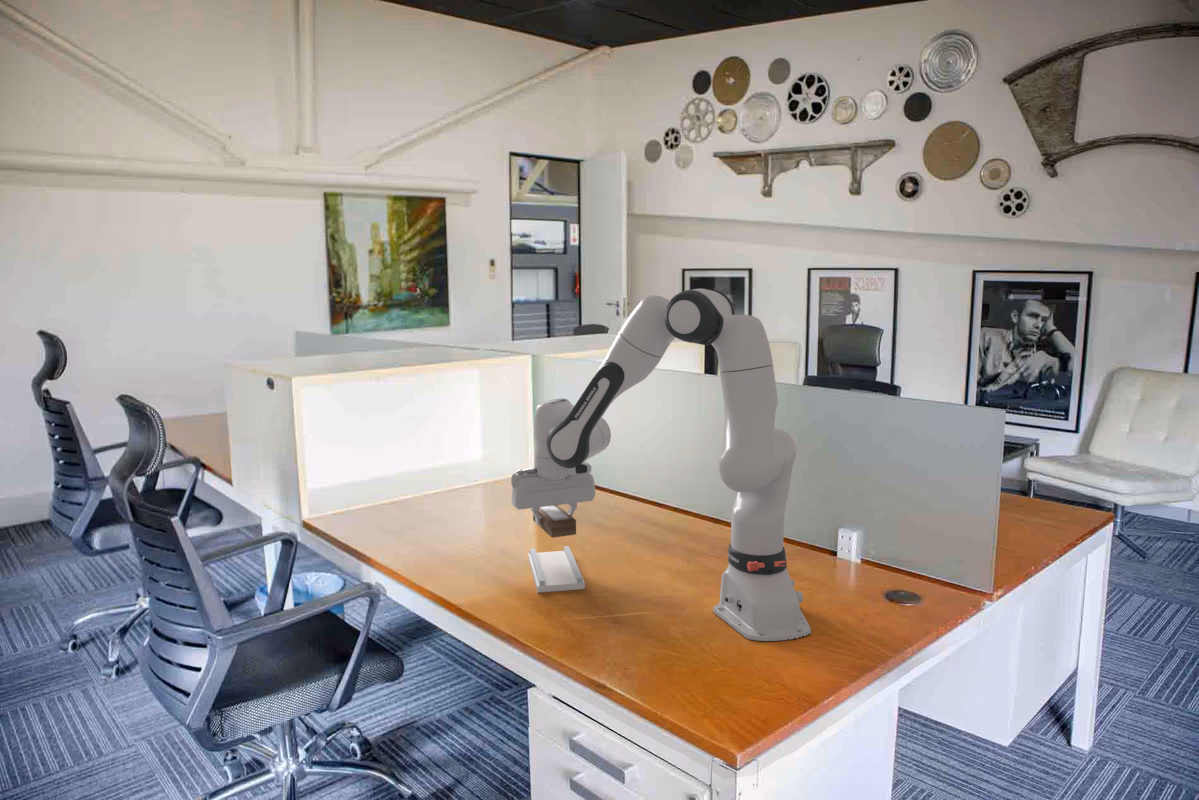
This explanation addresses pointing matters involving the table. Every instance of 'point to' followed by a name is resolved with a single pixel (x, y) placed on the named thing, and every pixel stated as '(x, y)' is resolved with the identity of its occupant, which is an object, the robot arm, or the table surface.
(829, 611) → the table surface
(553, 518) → the picture frame
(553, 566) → the picture ledge
